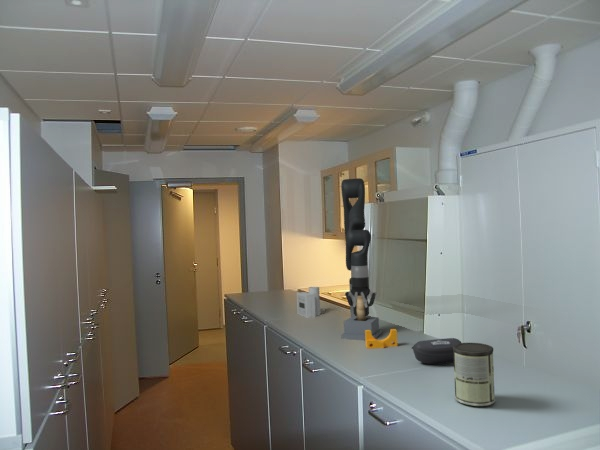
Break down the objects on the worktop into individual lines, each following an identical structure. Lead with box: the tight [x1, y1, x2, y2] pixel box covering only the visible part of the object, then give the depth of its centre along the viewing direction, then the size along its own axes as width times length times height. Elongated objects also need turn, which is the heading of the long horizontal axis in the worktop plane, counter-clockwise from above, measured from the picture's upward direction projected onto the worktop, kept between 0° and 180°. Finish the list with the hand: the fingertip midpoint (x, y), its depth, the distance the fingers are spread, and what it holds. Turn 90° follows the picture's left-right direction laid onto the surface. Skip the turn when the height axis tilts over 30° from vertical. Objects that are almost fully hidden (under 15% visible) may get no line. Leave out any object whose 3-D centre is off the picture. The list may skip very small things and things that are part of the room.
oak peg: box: [356, 296, 366, 321], centre depth 209 cm, size 4×4×12 cm
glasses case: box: [411, 337, 462, 365], centre depth 166 cm, size 18×10×8 cm, turn 103°
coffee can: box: [453, 342, 496, 407], centre depth 130 cm, size 10×10×14 cm
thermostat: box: [296, 286, 327, 319], centre depth 260 cm, size 12×14×15 cm
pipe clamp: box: [364, 328, 398, 350], centre depth 189 cm, size 12×4×6 cm, turn 91°
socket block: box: [340, 316, 383, 341], centre depth 209 cm, size 15×14×7 cm
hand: (361, 315), depth 209 cm, fingers closed on oak peg, 4 cm apart
